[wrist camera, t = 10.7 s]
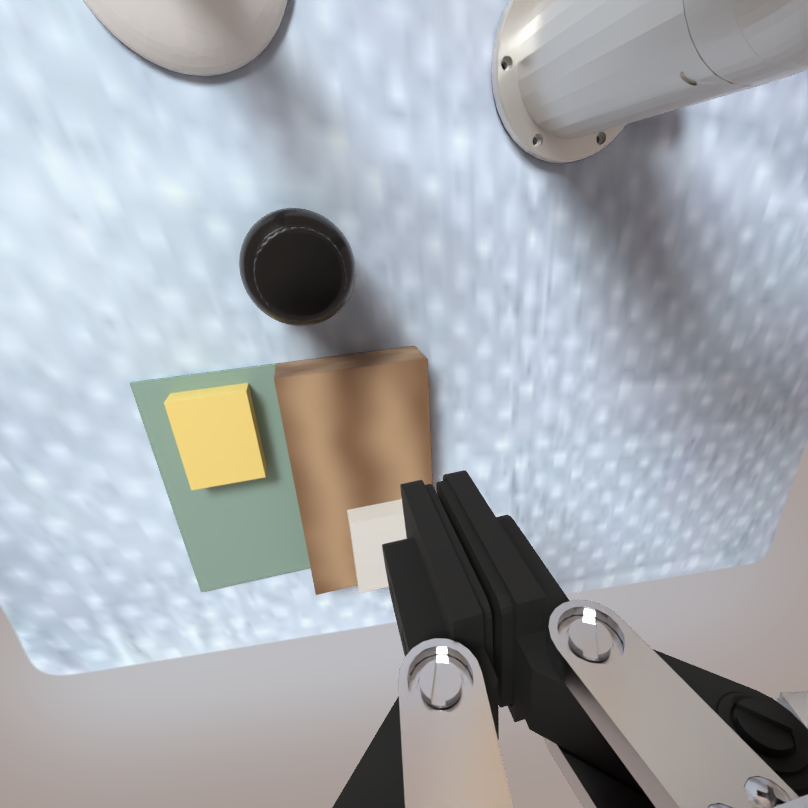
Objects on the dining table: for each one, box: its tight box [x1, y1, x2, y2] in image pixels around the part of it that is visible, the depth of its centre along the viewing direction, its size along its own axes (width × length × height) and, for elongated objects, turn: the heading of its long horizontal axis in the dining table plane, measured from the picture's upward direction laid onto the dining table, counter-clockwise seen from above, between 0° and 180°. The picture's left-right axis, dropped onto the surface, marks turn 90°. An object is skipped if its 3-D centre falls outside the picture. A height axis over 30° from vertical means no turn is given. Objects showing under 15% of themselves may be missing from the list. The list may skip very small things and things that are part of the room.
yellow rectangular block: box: [164, 383, 267, 490], centre depth 36 cm, size 6×8×2 cm
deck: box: [274, 346, 433, 595], centre depth 40 cm, size 12×22×4 cm, turn 4°
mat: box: [130, 364, 311, 592], centre depth 39 cm, size 12×22×1 cm, turn 4°
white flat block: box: [347, 499, 407, 594], centre depth 39 cm, size 6×8×2 cm
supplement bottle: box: [239, 208, 355, 326], centre depth 28 cm, size 7×7×12 cm
